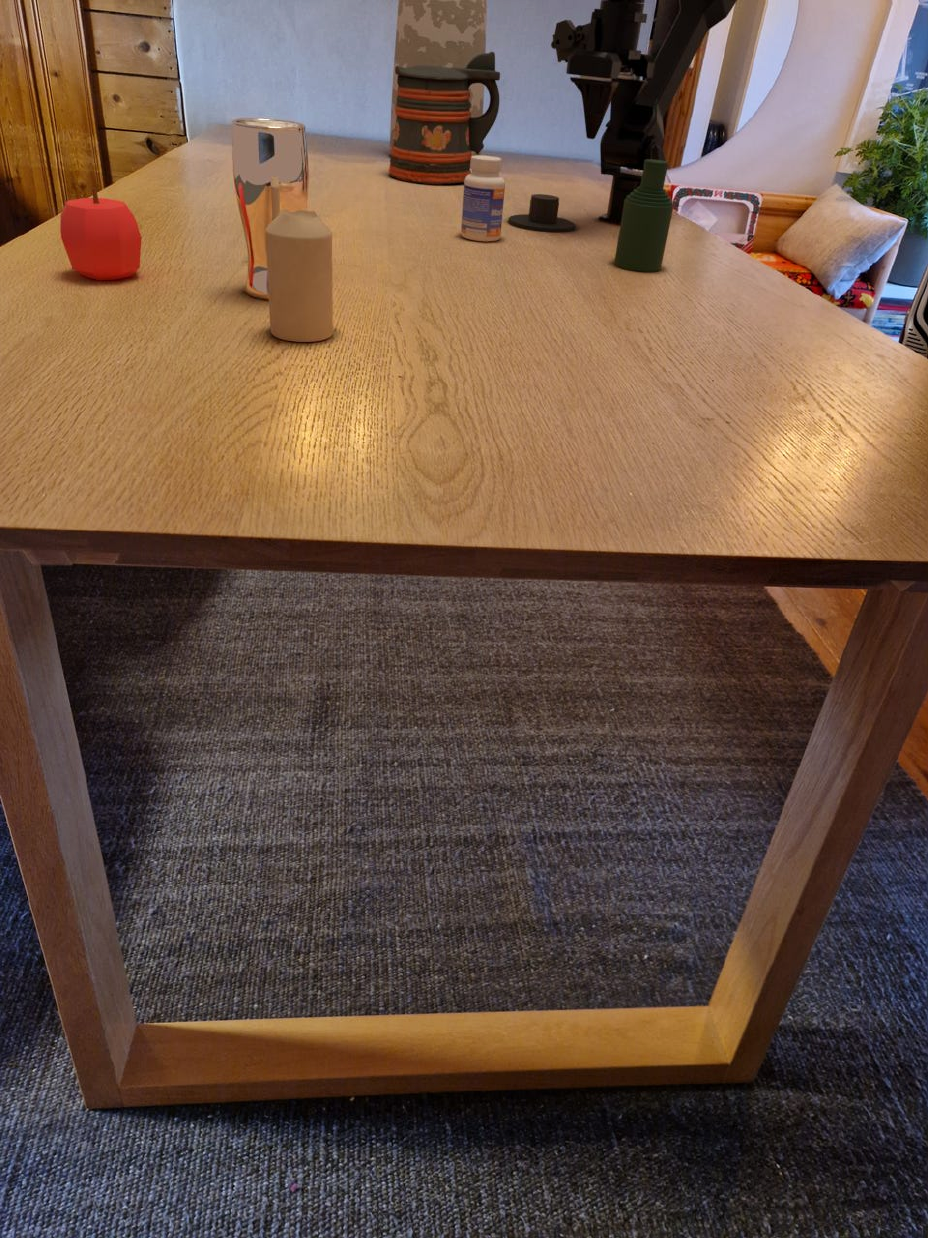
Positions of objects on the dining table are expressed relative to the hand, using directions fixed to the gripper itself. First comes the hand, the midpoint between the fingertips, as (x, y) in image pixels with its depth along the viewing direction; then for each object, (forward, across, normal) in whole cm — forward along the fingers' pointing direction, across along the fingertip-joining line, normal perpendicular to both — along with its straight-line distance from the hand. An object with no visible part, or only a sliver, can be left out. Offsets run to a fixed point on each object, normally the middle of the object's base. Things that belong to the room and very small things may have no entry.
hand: (602, 136), depth 122 cm
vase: (+12, -42, -51) cm, 67 cm away
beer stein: (+12, -20, -37) cm, 44 cm away
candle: (+12, +70, 0) cm, 71 cm away
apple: (+12, +68, -26) cm, 74 cm away
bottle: (+12, +19, +14) cm, 26 cm away
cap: (+11, +4, -6) cm, 14 cm away
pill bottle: (+12, +20, -8) cm, 25 cm away
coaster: (+12, +4, -6) cm, 14 cm away
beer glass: (+12, +61, -10) cm, 63 cm away
